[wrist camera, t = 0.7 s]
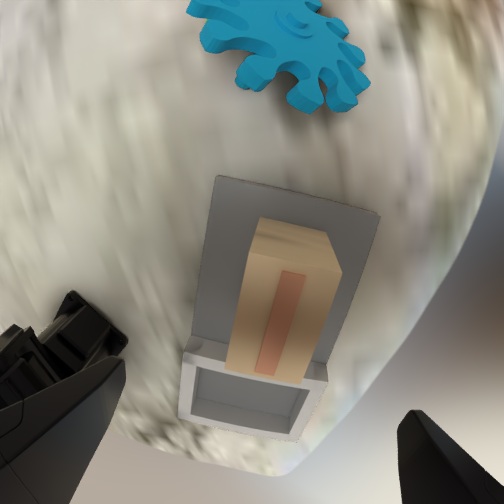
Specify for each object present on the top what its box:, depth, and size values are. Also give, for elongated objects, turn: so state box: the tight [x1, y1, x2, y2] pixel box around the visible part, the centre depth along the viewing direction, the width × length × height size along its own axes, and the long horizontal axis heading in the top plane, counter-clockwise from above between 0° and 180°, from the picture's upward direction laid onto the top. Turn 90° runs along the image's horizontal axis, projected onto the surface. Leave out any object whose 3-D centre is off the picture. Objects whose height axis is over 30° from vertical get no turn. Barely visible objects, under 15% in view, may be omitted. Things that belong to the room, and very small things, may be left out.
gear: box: [186, 0, 370, 114], centre depth 14 cm, size 11×6×10 cm
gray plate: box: [178, 175, 380, 443], centre depth 21 cm, size 20×10×3 cm, turn 168°
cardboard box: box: [224, 217, 342, 385], centre depth 17 cm, size 6×4×6 cm, turn 168°
